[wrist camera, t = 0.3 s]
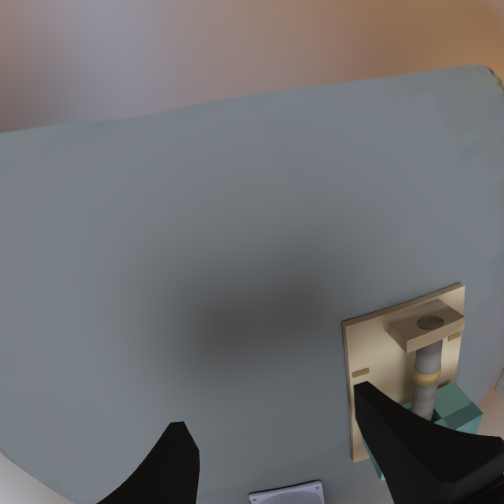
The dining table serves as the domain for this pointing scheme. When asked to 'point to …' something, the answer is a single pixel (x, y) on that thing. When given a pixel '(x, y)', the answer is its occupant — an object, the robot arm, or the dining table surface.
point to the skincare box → (500, 385)
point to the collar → (447, 414)
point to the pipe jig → (405, 353)
